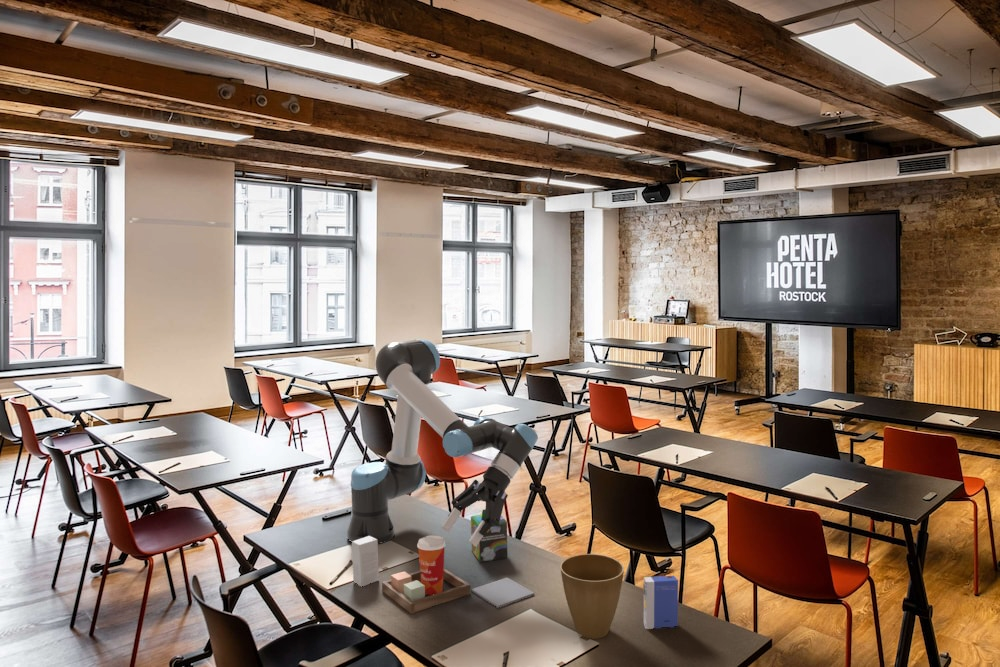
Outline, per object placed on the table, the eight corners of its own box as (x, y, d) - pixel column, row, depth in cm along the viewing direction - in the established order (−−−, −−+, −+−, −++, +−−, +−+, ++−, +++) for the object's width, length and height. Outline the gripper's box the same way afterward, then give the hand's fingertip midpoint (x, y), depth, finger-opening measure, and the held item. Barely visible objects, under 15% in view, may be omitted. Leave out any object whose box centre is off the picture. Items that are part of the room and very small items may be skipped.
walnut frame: (382, 591, 187) (381, 582, 187) (439, 573, 198) (439, 565, 198) (411, 613, 174) (410, 604, 174) (470, 593, 185) (470, 584, 185)
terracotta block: (391, 593, 186) (391, 575, 186) (404, 589, 189) (404, 571, 188) (398, 598, 183) (398, 580, 183) (411, 594, 185) (411, 576, 185)
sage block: (404, 602, 181) (403, 584, 180) (417, 598, 183) (417, 580, 183) (411, 608, 177) (411, 589, 177) (425, 604, 180) (424, 585, 179)
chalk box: (499, 547, 217) (498, 501, 215) (508, 558, 208) (508, 510, 207) (470, 551, 214) (469, 504, 212) (479, 563, 205) (478, 514, 204)
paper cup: (412, 590, 187) (411, 540, 186) (433, 581, 193) (432, 532, 192) (431, 599, 182) (430, 548, 181) (452, 589, 188) (451, 539, 186)
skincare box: (370, 576, 197) (369, 535, 196) (379, 580, 194) (378, 539, 193) (352, 582, 193) (351, 541, 192) (360, 587, 190) (359, 545, 189)
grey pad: (471, 591, 186) (471, 589, 186) (507, 579, 194) (507, 577, 193) (497, 608, 177) (497, 606, 177) (534, 595, 184) (534, 592, 184)
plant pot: (561, 614, 173) (560, 552, 172) (621, 617, 171) (621, 554, 170) (560, 646, 158) (559, 579, 157) (626, 649, 157) (626, 581, 155)
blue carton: (673, 621, 169) (674, 573, 168) (677, 627, 166) (678, 578, 165) (642, 623, 168) (642, 575, 167) (645, 629, 165) (646, 580, 164)
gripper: (535, 490, 190) (493, 557, 182) (483, 471, 210) (442, 531, 202) (520, 474, 186) (476, 543, 178) (468, 456, 206) (426, 517, 198)
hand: (458, 536), depth 190 cm, fingers open, 13 cm apart
